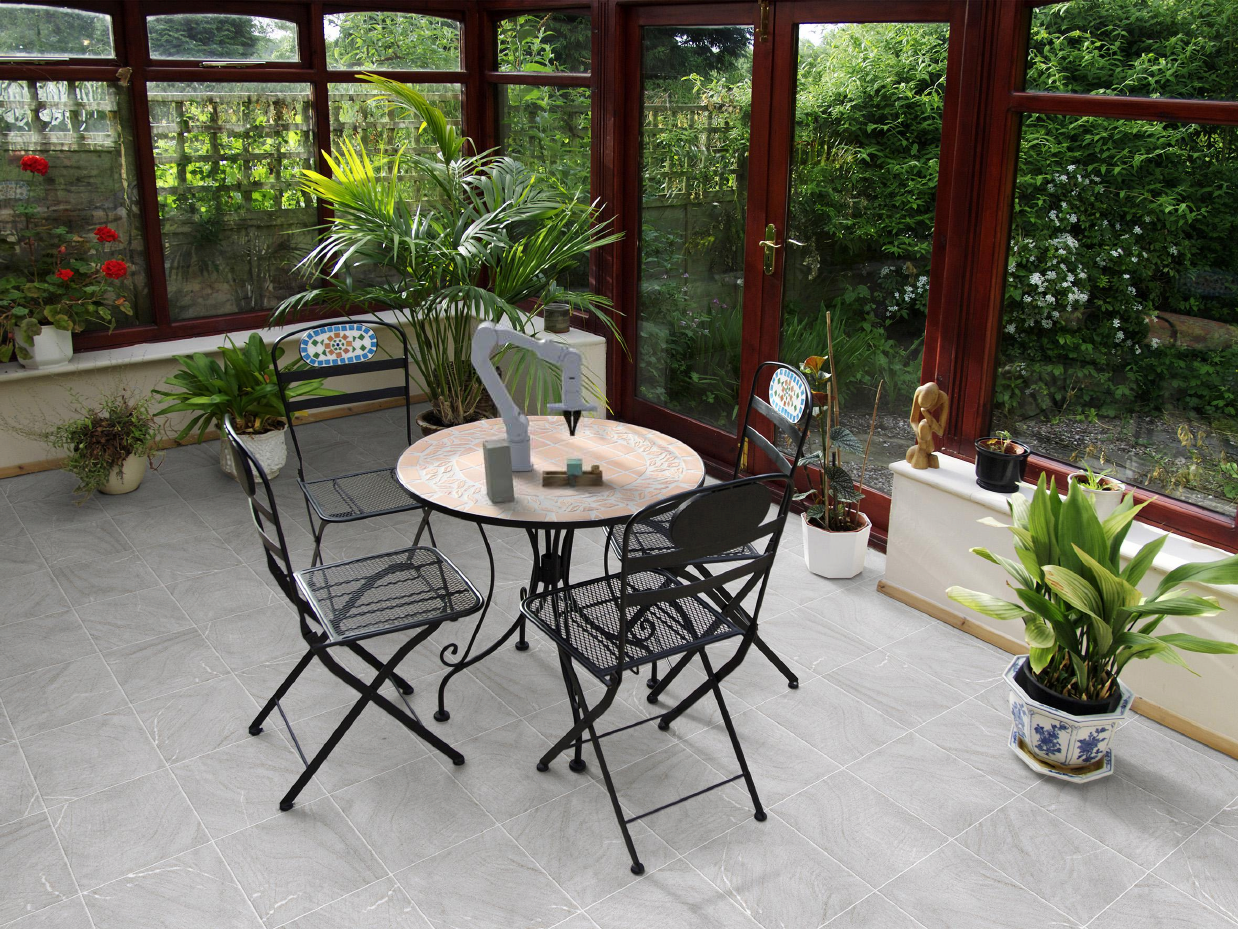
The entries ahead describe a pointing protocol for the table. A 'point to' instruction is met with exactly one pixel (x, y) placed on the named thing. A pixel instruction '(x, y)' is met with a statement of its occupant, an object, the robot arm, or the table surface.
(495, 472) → the skincare box
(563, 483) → the wooden slide track
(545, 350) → the robot arm
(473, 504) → the table surface
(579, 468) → the block
